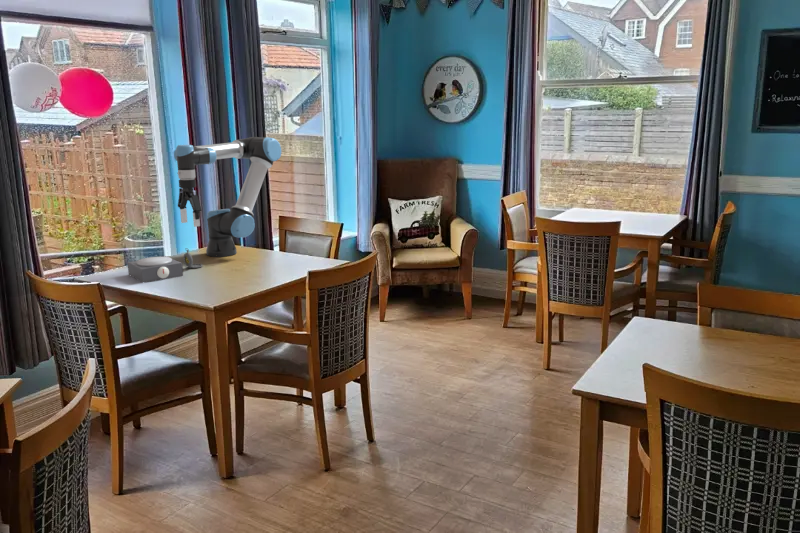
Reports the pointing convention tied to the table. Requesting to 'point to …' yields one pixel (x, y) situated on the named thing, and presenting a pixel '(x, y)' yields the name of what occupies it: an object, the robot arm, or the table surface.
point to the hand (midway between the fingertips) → (190, 224)
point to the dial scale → (155, 268)
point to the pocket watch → (190, 261)
